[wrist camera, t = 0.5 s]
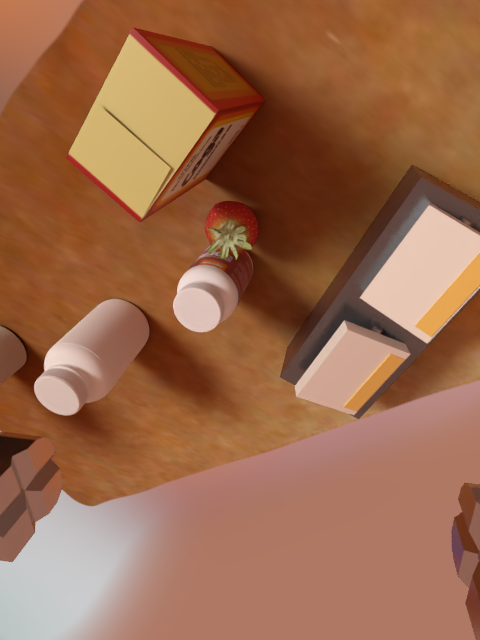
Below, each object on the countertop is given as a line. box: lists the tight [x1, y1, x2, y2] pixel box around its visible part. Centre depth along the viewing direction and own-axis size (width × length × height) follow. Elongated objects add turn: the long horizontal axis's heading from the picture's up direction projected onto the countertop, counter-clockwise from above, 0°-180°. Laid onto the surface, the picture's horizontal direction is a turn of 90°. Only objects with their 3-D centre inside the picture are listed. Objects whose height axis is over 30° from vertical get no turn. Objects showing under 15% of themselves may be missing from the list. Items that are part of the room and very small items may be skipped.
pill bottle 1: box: [34, 299, 149, 415], centre depth 49 cm, size 8×8×15 cm
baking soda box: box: [66, 28, 265, 222], centre depth 33 cm, size 10×6×16 cm
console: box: [280, 165, 480, 419], centre depth 41 cm, size 24×10×7 cm, turn 155°
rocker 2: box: [360, 203, 480, 344], centre depth 34 cm, size 10×7×2 cm
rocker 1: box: [295, 320, 410, 415], centre depth 41 cm, size 10×7×2 cm
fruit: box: [205, 201, 259, 259], centre depth 40 cm, size 5×5×8 cm
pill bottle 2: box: [173, 246, 253, 332], centre depth 42 cm, size 6×6×11 cm
